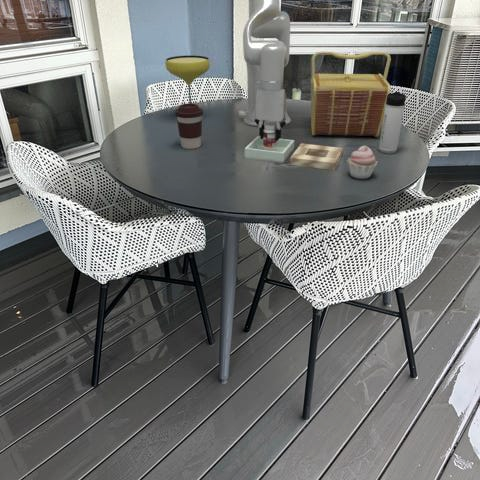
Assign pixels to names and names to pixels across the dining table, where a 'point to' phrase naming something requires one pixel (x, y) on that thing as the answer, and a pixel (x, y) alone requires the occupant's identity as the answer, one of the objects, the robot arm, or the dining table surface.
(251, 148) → the tray
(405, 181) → the dining table surface
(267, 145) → the pill bottle
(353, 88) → the picnic basket
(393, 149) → the travel mug
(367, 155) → the cupcake
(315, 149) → the socket block
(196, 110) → the coffee cup
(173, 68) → the cocktail glass
